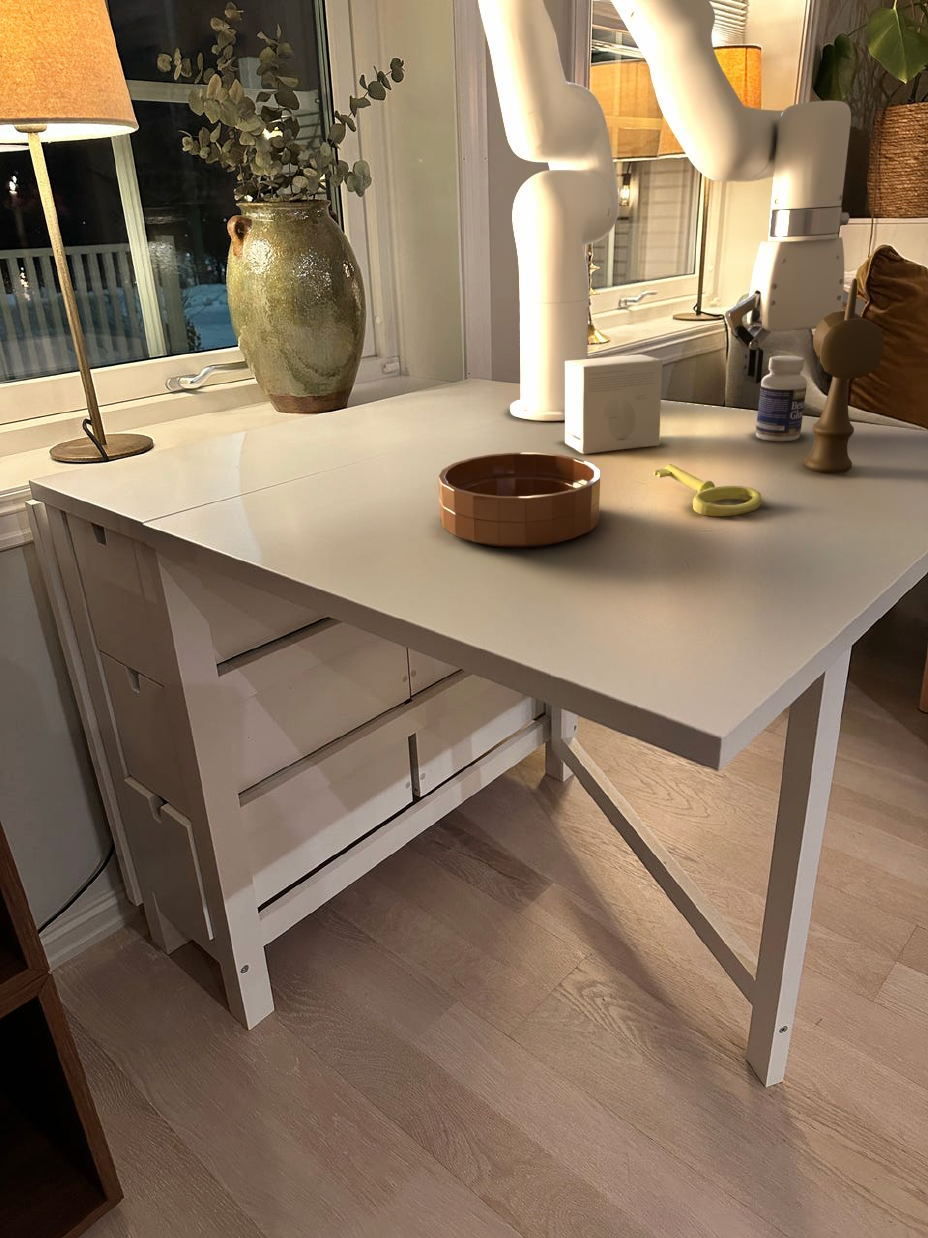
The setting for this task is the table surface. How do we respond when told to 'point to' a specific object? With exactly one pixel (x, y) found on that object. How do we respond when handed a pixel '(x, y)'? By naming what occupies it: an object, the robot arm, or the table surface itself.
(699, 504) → the key
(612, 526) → the table surface
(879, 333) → the kendama
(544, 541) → the bowl
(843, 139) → the robot arm
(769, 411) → the pill bottle
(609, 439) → the cosmetics box
